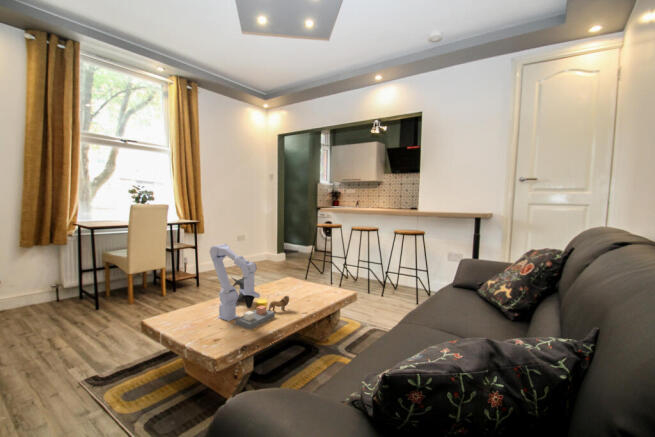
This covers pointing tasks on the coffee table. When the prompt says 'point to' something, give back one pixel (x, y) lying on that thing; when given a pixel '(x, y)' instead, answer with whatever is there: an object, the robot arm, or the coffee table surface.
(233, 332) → the coffee table surface
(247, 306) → the robot arm
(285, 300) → the lion figurine
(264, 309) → the salmon pink block
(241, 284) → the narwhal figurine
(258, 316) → the button housing
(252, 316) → the cream cube
